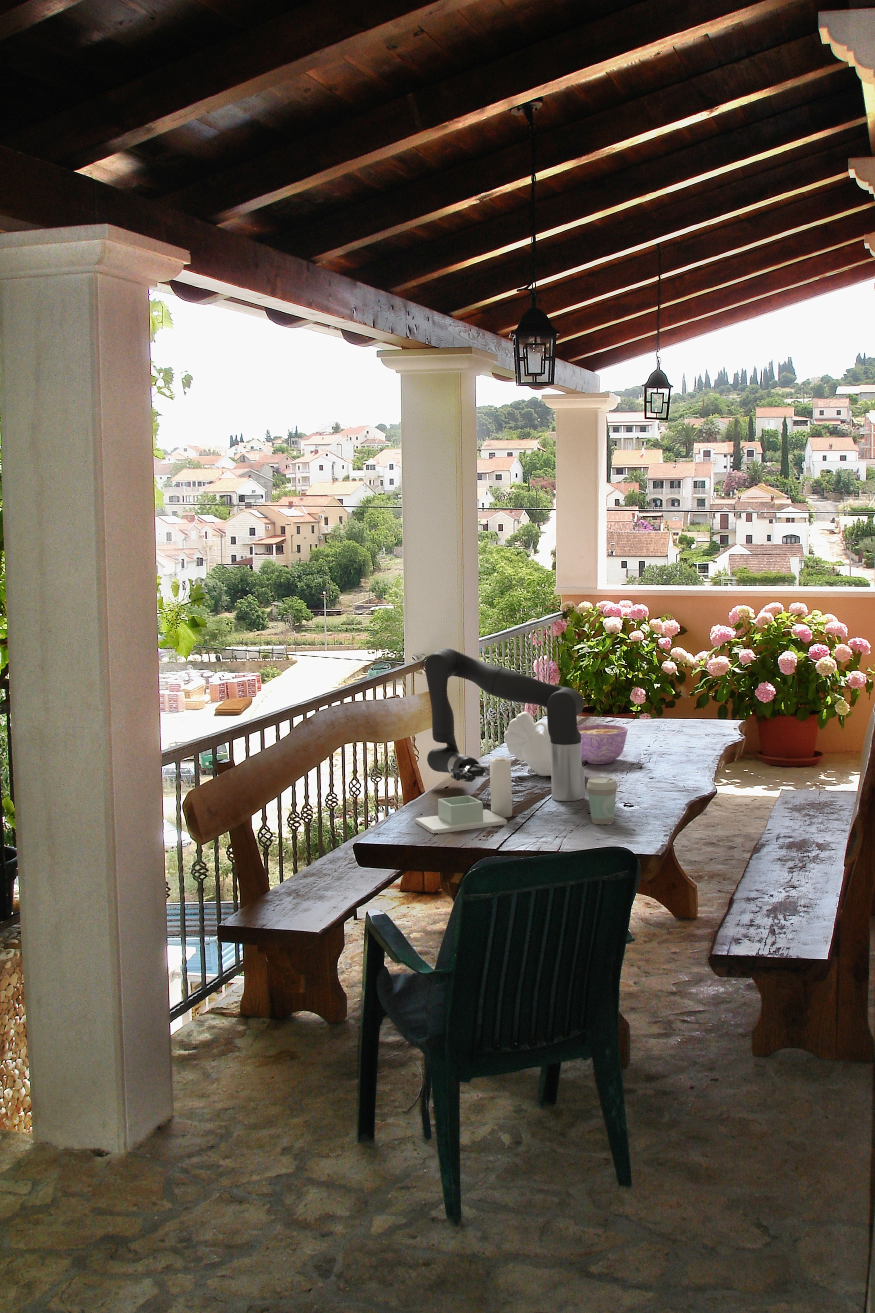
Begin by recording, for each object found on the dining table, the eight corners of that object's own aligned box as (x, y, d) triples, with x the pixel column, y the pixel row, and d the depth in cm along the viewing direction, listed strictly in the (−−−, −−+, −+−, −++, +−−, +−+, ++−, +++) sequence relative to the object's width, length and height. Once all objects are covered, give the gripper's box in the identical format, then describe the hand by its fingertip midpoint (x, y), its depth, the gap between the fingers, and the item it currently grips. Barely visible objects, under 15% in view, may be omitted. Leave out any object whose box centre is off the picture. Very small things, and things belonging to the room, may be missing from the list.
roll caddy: (486, 813, 323) (485, 791, 322) (507, 824, 310) (506, 801, 309) (415, 822, 315) (414, 800, 314) (433, 834, 302) (432, 810, 301)
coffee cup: (602, 828, 302) (601, 784, 301) (580, 822, 309) (579, 779, 308) (624, 822, 307) (624, 779, 306) (602, 817, 314) (602, 775, 313)
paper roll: (506, 811, 324) (505, 756, 322) (515, 816, 318) (514, 760, 317) (487, 814, 322) (486, 759, 320) (496, 818, 316) (495, 762, 314)
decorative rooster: (587, 772, 374) (586, 698, 372) (568, 781, 361) (566, 705, 358) (520, 766, 387) (518, 695, 384) (499, 775, 373) (497, 702, 371)
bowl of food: (626, 755, 400) (625, 723, 398) (630, 767, 380) (629, 733, 379) (570, 756, 402) (569, 724, 400) (571, 767, 382) (570, 734, 381)
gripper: (441, 757, 341) (462, 767, 326) (484, 753, 347) (506, 762, 332) (442, 781, 342) (463, 792, 327) (485, 776, 347) (507, 786, 332)
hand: (484, 777), depth 329 cm, fingers open, 8 cm apart
